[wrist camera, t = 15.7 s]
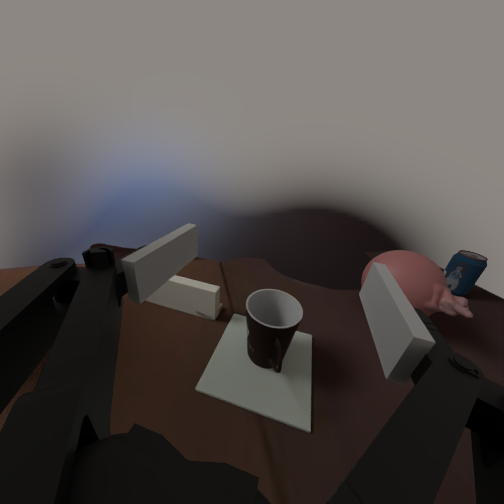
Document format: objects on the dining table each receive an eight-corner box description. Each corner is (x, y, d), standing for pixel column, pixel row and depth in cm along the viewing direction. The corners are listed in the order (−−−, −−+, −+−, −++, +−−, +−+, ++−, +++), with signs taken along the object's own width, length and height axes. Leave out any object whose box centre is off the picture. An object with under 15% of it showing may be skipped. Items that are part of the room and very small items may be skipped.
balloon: (414, 364, 37) (461, 295, 30) (339, 294, 54) (359, 240, 47) (466, 346, 42) (516, 284, 35) (383, 288, 59) (406, 238, 52)
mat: (195, 390, 29) (195, 388, 29) (233, 314, 43) (233, 313, 43) (309, 433, 26) (310, 431, 26) (311, 336, 40) (311, 335, 40)
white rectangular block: (129, 296, 45) (124, 268, 42) (143, 286, 49) (139, 260, 46) (214, 321, 41) (215, 292, 38) (222, 308, 45) (223, 281, 42)
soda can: (461, 289, 63) (485, 254, 57) (468, 301, 57) (495, 263, 52) (433, 281, 66) (453, 247, 60) (437, 291, 60) (460, 255, 55)
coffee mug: (252, 325, 41) (258, 283, 36) (295, 342, 38) (307, 299, 34) (222, 377, 31) (225, 328, 27) (277, 405, 28) (290, 356, 24)
